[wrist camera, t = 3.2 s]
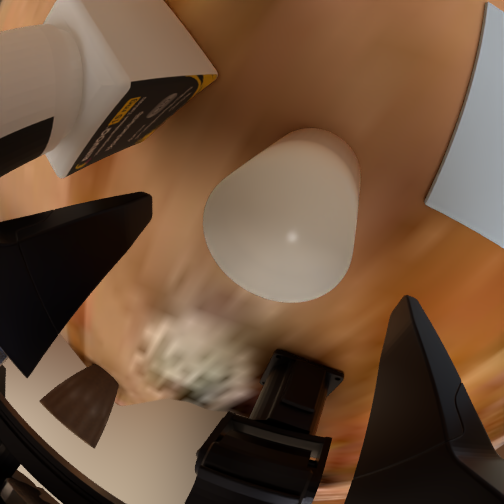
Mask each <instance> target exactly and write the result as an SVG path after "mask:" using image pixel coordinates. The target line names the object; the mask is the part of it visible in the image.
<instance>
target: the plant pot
mask: <svg viewBox="0 0 504 504" xmlns="http://www.w3.org/2000/svg"><path fill="white" fill-rule="evenodd" d="M117 390H118V384H117V382H116V381H115V380H114V379H113V378H112V377H111V376H110V375H109V374H108V373H107V372H105V371H104V370H103V369H102V368H100V367H99V366H97V365H95V364H93V365H91V366H89V367H87V368H85V369H84V370H81V371H80V372H78V373H76V374H75V375H73V376H71V377H70V378H68V379H67V380H65V381H64V382H62V383H61V384H59V385H58V386H57V387H55V388H54V389H53V390H51V391H50V392H49V393H48V394H47V395H46V396H44V397H43V398H42V399H41V400H40V403H41V404H42V405H43V406H44V407H45V408H46V409H47V410H48V411H49V412H50V413H51V414H52V415H53V416H54V417H55V418H56V419H58V420H59V421H60V422H61V423H62V424H63V425H64V426H66V427H67V428H68V429H69V430H70V431H71V432H73V433H74V434H75V435H76V436H78V437H79V438H80V439H82V440H83V441H84V442H85V443H87V444H88V445H90V446H91V447H93V448H95V447H96V445H97V443H98V441H99V439H100V437H101V435H102V433H103V430H104V428H105V426H106V423H107V421H108V418H109V415H110V413H111V410H112V407H113V404H114V401H115V397H116V394H117Z"/></svg>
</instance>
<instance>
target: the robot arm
mask: <svg viewBox="0 0 504 504" xmlns="http://www.w3.org/2000/svg"><path fill="white" fill-rule="evenodd" d="M151 218H152V196H151V195H150V194H147V193H145V192H136V193H130V194H125V195H119V196H114V197H109V198H104V199H99V200H94V201H89V202H85V203H80V204H76V205H71V206H67V207H63V208H59V209H55V210H50V211H46V212H42V213H38V214H34V215H29V216H25V217H20V218H16V219H11V220H7V221H2V222H0V504H60V503H58V502H57V501H56V500H55V499H54V498H53V497H51V496H50V495H49V494H48V493H47V492H46V491H45V490H44V489H43V488H39V487H36V486H35V484H34V483H33V482H32V481H31V480H30V479H28V478H27V477H26V476H25V475H24V474H22V473H21V472H19V471H18V470H17V468H18V467H19V466H20V464H21V465H22V466H23V467H24V468H25V469H26V470H27V471H28V472H29V473H30V474H31V475H32V476H33V477H34V478H35V479H36V480H37V481H38V482H39V483H40V484H42V485H43V486H44V487H45V488H46V489H47V490H48V491H49V492H50V493H52V494H53V495H54V496H55V497H56V498H57V499H58V500H60V501H61V502H62V503H63V504H125V503H124V502H123V501H121V500H119V499H118V498H116V497H115V496H113V495H112V494H110V493H109V492H107V491H106V490H104V489H103V488H101V487H100V486H98V485H97V484H96V483H94V482H93V481H92V480H90V479H89V478H88V477H86V476H85V475H84V474H82V473H81V472H80V471H78V470H77V469H76V468H75V467H74V466H72V465H71V464H70V463H69V462H67V461H66V460H65V459H64V458H63V457H62V456H60V455H59V454H58V453H57V452H56V451H55V450H54V449H53V448H52V447H51V446H49V445H48V444H47V443H46V442H45V441H44V440H43V439H42V438H41V437H40V436H39V435H38V434H37V433H36V432H35V431H34V430H33V429H32V428H31V427H30V426H29V425H28V424H27V423H26V421H25V420H24V419H23V418H22V417H21V416H20V415H19V414H18V413H17V411H16V410H15V409H14V408H13V407H12V406H11V405H10V404H9V402H8V401H7V400H6V398H5V377H6V368H5V367H4V366H3V365H2V364H3V363H4V362H5V361H6V360H7V358H8V357H9V359H10V360H11V361H12V362H13V363H14V364H15V366H16V367H17V368H18V369H19V370H20V371H21V372H22V374H23V375H24V376H25V377H26V378H28V377H29V376H30V374H31V373H32V371H33V370H34V368H35V367H36V366H37V364H38V362H39V361H40V360H41V358H42V357H43V355H44V354H45V353H46V351H47V350H48V348H49V347H50V346H51V344H52V342H53V341H54V340H55V339H56V337H57V336H58V334H59V333H60V332H61V330H62V329H63V328H64V326H65V325H66V324H67V323H68V321H69V320H70V319H71V317H72V316H73V315H74V314H75V312H76V311H77V310H78V308H79V307H80V306H81V305H82V303H83V302H84V301H85V300H86V299H87V297H88V296H89V295H90V294H91V292H92V291H93V290H94V289H95V288H96V286H97V285H98V284H99V283H100V282H101V280H102V279H103V278H104V277H105V276H106V275H107V273H108V272H109V271H110V270H111V269H112V268H113V267H114V265H115V264H116V263H117V262H118V261H119V260H120V259H121V258H122V256H123V255H124V254H125V253H126V252H127V251H128V249H129V248H130V247H131V246H132V244H133V243H134V242H135V240H136V239H137V238H138V236H139V235H140V234H141V232H142V231H143V230H144V228H145V227H146V226H147V225H148V223H149V222H150V220H151ZM343 379H344V374H342V373H340V372H337V371H335V370H332V369H329V368H326V367H323V366H321V365H318V364H315V363H313V362H310V361H307V360H305V359H302V358H299V357H297V356H294V355H292V354H289V353H287V352H284V351H282V350H276V351H275V352H274V354H273V356H272V358H271V360H270V362H269V364H268V366H267V368H266V370H265V372H264V374H263V376H262V378H261V380H260V384H262V385H263V389H262V391H261V393H260V395H259V398H258V400H257V402H256V404H255V407H254V409H253V411H252V413H251V415H250V418H246V417H243V416H239V415H236V414H235V413H234V412H231V411H228V413H227V414H226V416H225V417H224V418H222V420H221V421H220V422H219V424H218V425H217V426H216V428H215V429H214V431H213V432H212V433H211V435H210V436H209V437H208V439H207V440H206V441H205V443H204V444H203V445H202V447H201V448H200V449H199V450H198V451H197V453H196V456H197V461H196V465H195V473H196V474H197V477H196V480H195V483H194V485H193V488H192V490H191V492H190V494H189V496H188V498H187V500H186V502H185V504H311V503H312V501H313V499H314V497H315V494H316V492H317V489H318V486H319V484H320V481H321V477H322V474H323V471H324V467H325V463H326V460H327V456H328V452H329V448H330V445H331V441H332V438H330V437H320V436H315V433H316V430H317V427H318V424H319V420H320V417H321V414H322V410H323V407H324V403H325V400H326V397H327V396H328V395H329V394H330V393H331V392H332V391H333V390H334V389H335V388H336V387H337V386H338V385H339V384H340V383H341V382H342V381H343ZM310 457H313V458H316V460H315V461H314V460H309V459H310ZM344 504H504V459H502V458H501V457H500V456H499V455H498V454H497V453H496V451H495V449H494V448H493V446H492V443H491V441H490V439H489V437H488V435H487V433H486V431H485V428H484V426H483V424H482V422H481V420H480V418H479V416H478V414H477V412H476V410H475V408H474V406H473V404H472V402H471V400H470V398H469V396H468V394H467V392H466V389H465V387H464V385H463V383H461V379H460V377H459V375H458V373H457V371H456V369H455V367H454V365H453V363H452V361H451V359H450V357H449V355H448V353H447V351H446V349H445V347H444V345H443V344H442V342H441V340H440V338H439V336H438V334H437V333H436V331H435V329H434V327H433V326H432V324H431V322H430V320H429V319H428V317H427V315H426V314H425V312H424V310H423V309H422V307H421V305H420V304H419V302H418V300H417V299H416V298H413V297H411V296H409V295H405V296H404V297H403V298H402V299H401V300H400V302H399V303H398V305H397V306H396V307H395V309H394V310H393V312H392V313H391V316H390V319H389V324H388V328H387V333H386V337H385V341H384V345H383V349H382V354H381V358H380V364H379V370H378V376H377V382H376V388H375V393H374V399H373V404H372V409H371V413H370V418H369V422H368V427H367V431H366V435H365V439H364V443H363V447H362V450H361V454H360V457H359V461H358V464H357V468H356V471H355V474H354V477H353V480H352V483H351V486H350V489H349V492H348V495H347V498H346V500H345V503H344Z"/></svg>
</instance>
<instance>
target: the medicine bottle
mask: <svg viewBox="0 0 504 504" xmlns="http://www.w3.org/2000/svg"><path fill="white" fill-rule="evenodd" d="M217 77H218V73H217V71H216V69H215V68H214V66H213V65H212V63H211V62H210V61H209V59H208V58H207V56H206V55H205V54H204V52H203V51H202V50H201V48H200V47H199V45H198V44H197V43H196V41H195V40H194V39H193V37H192V36H191V35H190V33H189V32H188V31H187V29H186V28H185V27H184V25H183V24H182V23H181V22H180V20H179V19H178V18H177V16H176V15H175V14H174V13H173V11H172V10H171V9H170V8H169V6H168V5H167V4H166V3H165V1H164V0H57V1H56V2H55V4H54V6H53V7H52V9H51V11H50V13H49V14H48V16H47V18H46V20H45V21H44V23H43V24H41V25H34V26H27V27H21V28H16V29H11V30H6V31H1V32H0V177H1V176H3V175H5V174H7V173H9V172H10V171H12V170H14V169H16V168H18V167H20V166H22V165H23V164H25V163H27V162H29V161H31V160H33V159H35V158H37V157H39V156H42V155H44V154H45V155H46V156H47V158H48V160H49V162H50V164H51V166H52V168H53V169H54V171H55V173H56V175H57V176H58V177H59V178H65V177H67V176H69V175H71V174H72V173H74V172H76V171H78V170H80V169H82V168H84V167H86V166H88V165H90V164H92V163H95V162H97V161H99V160H101V159H103V158H105V157H107V156H110V155H112V154H114V153H116V152H119V151H121V150H123V149H125V148H128V147H130V146H133V145H135V144H137V143H140V142H142V141H144V140H145V139H147V138H148V137H149V136H150V135H151V134H152V133H153V132H154V131H155V130H156V129H157V128H158V127H159V126H160V125H161V124H163V123H164V122H165V121H166V120H167V119H168V118H169V117H170V116H171V115H173V114H174V113H175V112H176V111H177V110H178V109H180V108H181V107H182V106H183V105H184V104H185V103H187V102H188V101H189V100H190V99H191V98H193V97H194V96H195V95H196V94H198V93H199V92H200V91H201V90H203V89H204V88H205V87H206V86H208V85H209V84H210V83H212V82H213V81H214V80H216V78H217Z"/></svg>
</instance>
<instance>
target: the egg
mask: <svg viewBox="0 0 504 504" xmlns="http://www.w3.org/2000/svg"><path fill="white" fill-rule="evenodd" d="M360 184H361V171H360V166H359V162H358V160H357V157H356V155H355V153H354V152H353V150H352V149H351V148H350V146H349V145H348V144H347V143H346V142H345V141H344V140H343V139H341V138H340V137H339V136H337V135H335V134H333V133H331V132H329V131H326V130H323V129H318V128H304V129H299V130H295V131H293V132H291V133H289V134H287V135H285V136H284V137H282V138H281V139H279V140H278V141H276V142H275V143H274V144H272V145H271V146H269V147H268V148H266V149H265V150H263V151H262V152H260V153H259V154H258V155H256V156H255V157H253V158H252V159H250V160H249V161H248V162H246V163H245V164H243V165H242V166H241V167H239V168H238V169H237V170H235V171H234V172H232V173H231V174H230V175H228V176H227V177H226V178H224V179H223V180H222V181H221V182H220V183H219V184H218V185H217V186H216V187H215V188H214V190H213V191H212V192H211V194H210V196H209V198H208V200H207V203H206V206H205V209H204V215H203V229H204V235H205V240H206V243H207V246H208V248H209V250H210V253H211V255H212V256H213V258H214V260H215V261H216V263H217V264H218V266H219V267H220V268H221V269H222V271H223V272H224V273H225V274H226V275H227V276H228V277H229V278H230V279H232V280H233V281H234V282H235V283H236V284H238V285H239V286H241V287H242V288H244V289H245V290H247V291H249V292H251V293H253V294H255V295H257V296H260V297H262V298H265V299H269V300H273V301H278V302H288V303H295V302H304V301H309V300H312V299H316V298H318V297H320V296H323V295H324V294H326V293H328V292H329V291H331V290H332V289H333V288H334V287H336V286H337V285H338V284H339V282H340V281H341V280H342V279H343V277H344V276H345V274H346V272H347V270H348V268H349V266H350V263H351V259H352V254H353V247H354V240H355V232H356V224H357V215H358V206H359V195H360Z"/></svg>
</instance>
